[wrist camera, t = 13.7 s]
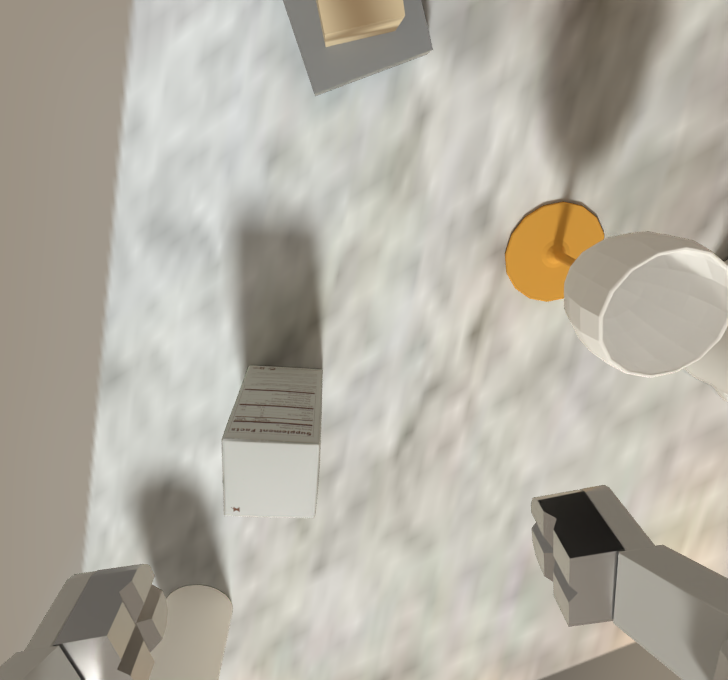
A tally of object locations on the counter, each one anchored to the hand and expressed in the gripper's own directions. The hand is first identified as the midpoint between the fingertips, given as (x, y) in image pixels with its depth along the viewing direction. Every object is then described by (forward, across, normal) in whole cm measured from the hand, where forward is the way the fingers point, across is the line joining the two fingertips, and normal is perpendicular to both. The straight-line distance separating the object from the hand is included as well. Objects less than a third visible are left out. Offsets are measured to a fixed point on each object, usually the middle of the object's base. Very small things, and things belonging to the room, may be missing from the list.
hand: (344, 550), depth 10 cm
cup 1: (+34, +25, +42) cm, 60 cm away
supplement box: (+34, +8, +15) cm, 38 cm away
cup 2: (+34, -19, +5) cm, 40 cm away
